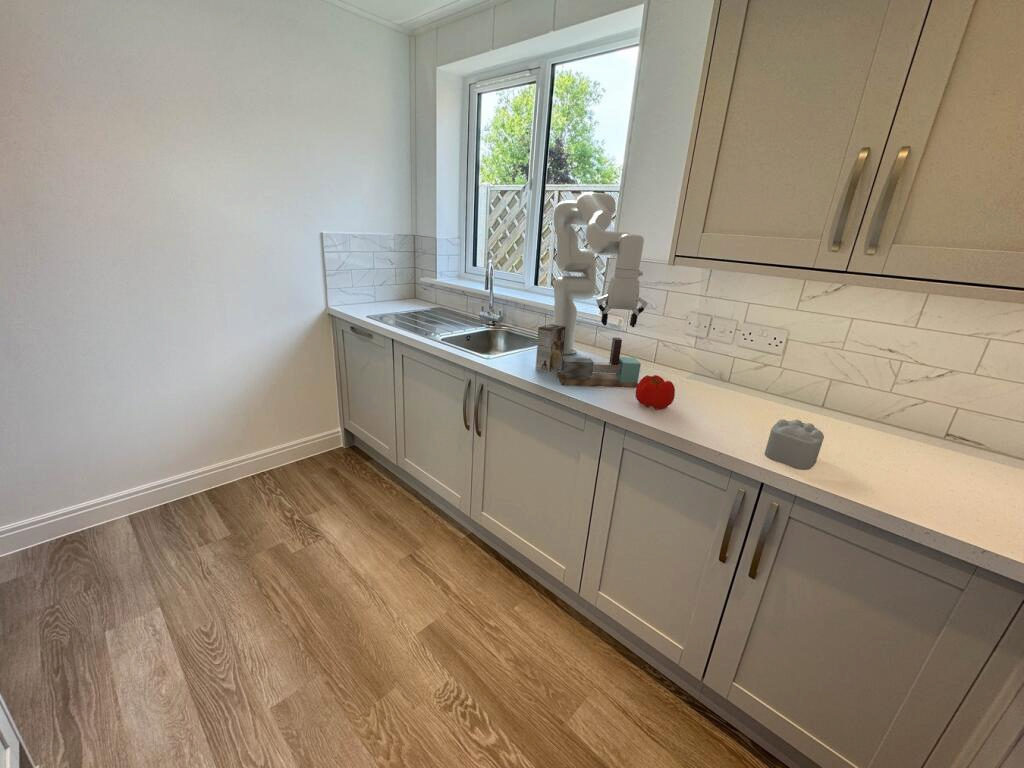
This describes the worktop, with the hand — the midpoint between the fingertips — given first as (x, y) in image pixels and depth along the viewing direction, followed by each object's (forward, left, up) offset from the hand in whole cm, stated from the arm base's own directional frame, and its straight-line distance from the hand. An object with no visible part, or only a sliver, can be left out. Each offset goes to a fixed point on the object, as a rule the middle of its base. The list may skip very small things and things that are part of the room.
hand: (618, 325), depth 151 cm
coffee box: (-11, -21, -20) cm, 31 cm away
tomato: (+23, +7, -20) cm, 31 cm away
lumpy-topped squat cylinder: (+53, +32, -20) cm, 65 cm away
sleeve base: (+1, -5, -20) cm, 21 cm away
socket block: (+1, +5, -20) cm, 21 cm away
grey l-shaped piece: (+1, -2, -16) cm, 17 cm away
